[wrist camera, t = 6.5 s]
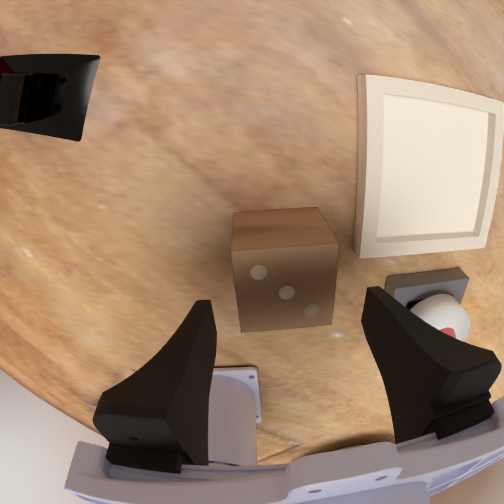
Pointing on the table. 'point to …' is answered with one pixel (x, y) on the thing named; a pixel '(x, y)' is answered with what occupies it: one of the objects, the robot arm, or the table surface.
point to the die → (283, 269)
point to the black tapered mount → (46, 93)
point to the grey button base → (427, 285)
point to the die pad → (424, 167)
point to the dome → (444, 315)
